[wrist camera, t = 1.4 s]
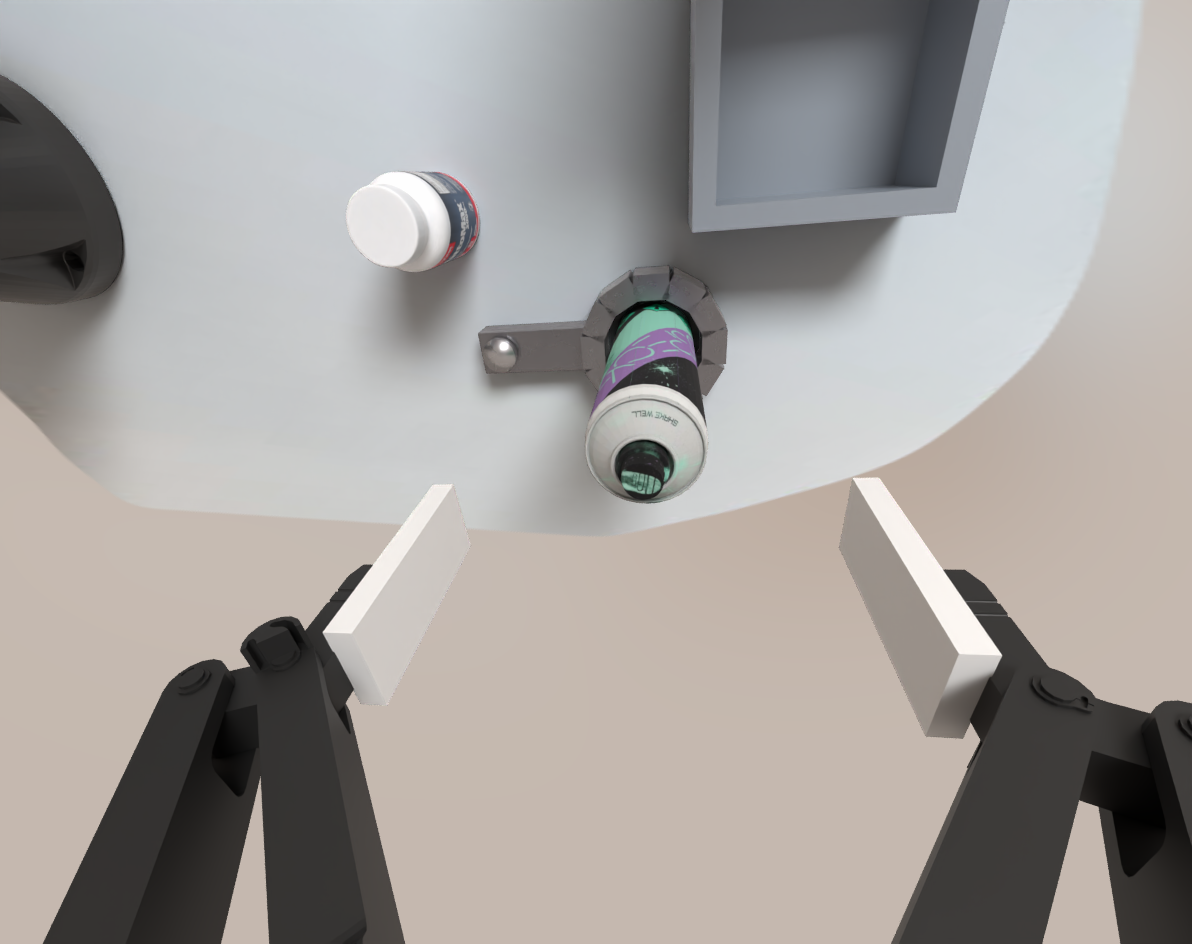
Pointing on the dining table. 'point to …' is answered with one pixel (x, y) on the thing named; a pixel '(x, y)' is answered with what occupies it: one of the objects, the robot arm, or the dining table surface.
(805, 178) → the bin
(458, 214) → the pill bottle
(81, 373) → the dining table surface
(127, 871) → the robot arm
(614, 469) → the spray can
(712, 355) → the socket ring
